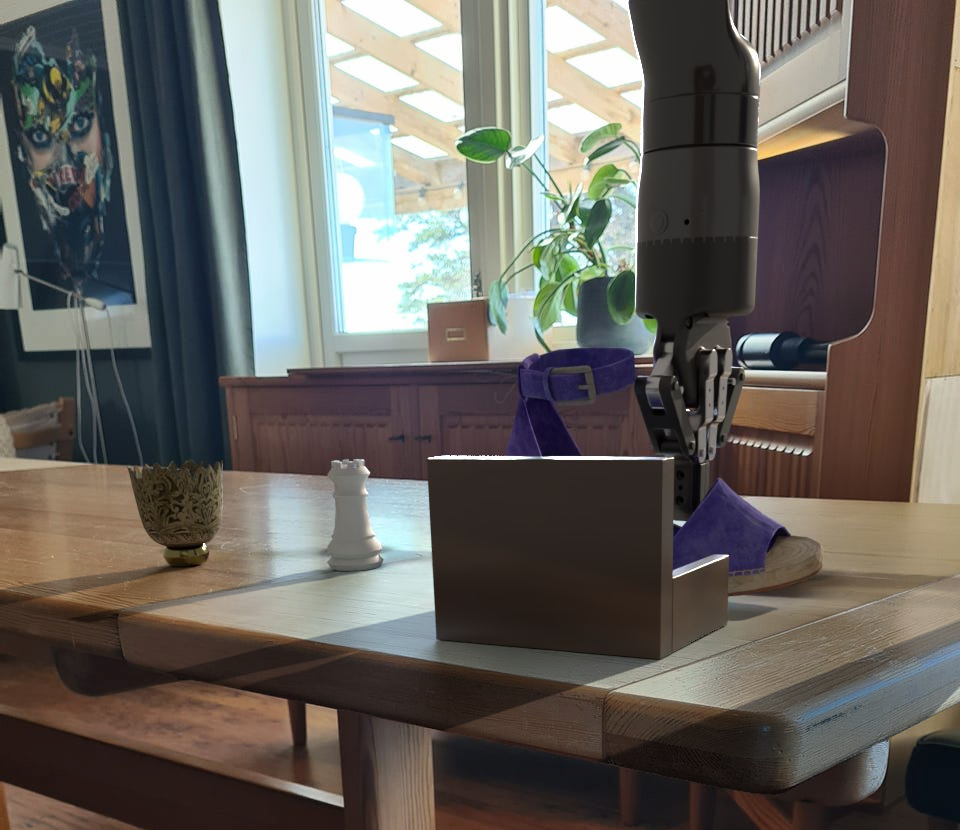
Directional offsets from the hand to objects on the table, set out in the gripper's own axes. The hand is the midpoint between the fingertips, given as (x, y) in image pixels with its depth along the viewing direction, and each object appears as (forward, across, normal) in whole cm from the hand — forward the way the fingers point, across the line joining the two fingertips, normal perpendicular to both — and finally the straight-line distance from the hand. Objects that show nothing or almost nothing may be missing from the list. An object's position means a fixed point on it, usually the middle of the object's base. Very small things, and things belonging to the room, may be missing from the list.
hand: (688, 519), depth 86 cm
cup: (+5, -5, +42) cm, 43 cm away
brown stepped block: (+4, -17, -1) cm, 18 cm away
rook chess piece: (+5, -2, +27) cm, 28 cm away
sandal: (+4, -3, 0) cm, 5 cm away
